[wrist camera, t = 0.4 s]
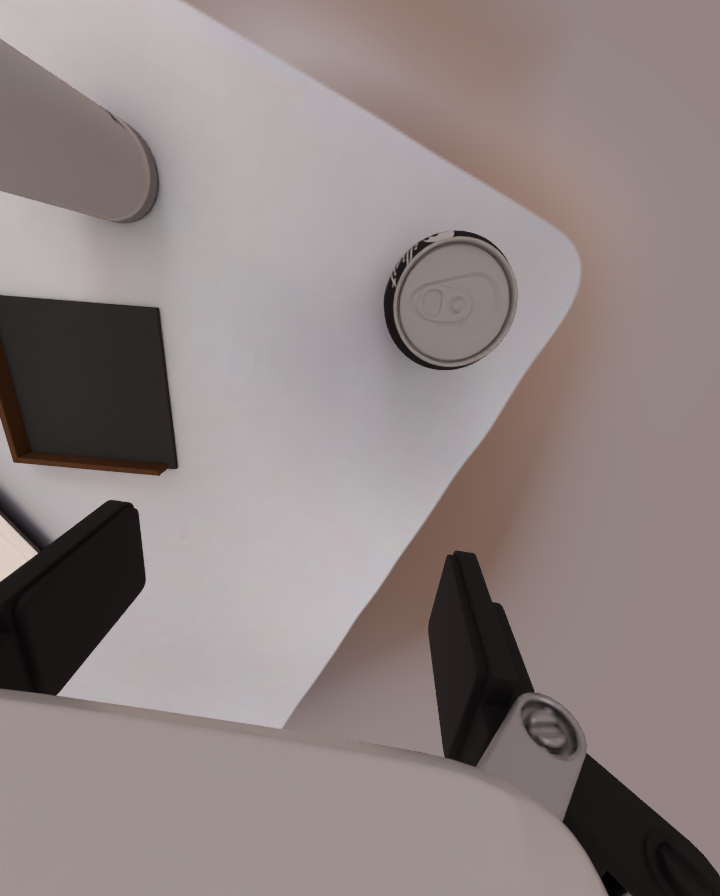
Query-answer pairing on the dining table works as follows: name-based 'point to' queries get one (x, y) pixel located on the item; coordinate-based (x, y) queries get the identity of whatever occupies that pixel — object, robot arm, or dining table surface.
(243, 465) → the dining table surface
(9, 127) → the travel mug
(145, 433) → the corner mat
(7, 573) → the plate
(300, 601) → the dining table surface
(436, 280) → the beverage can
